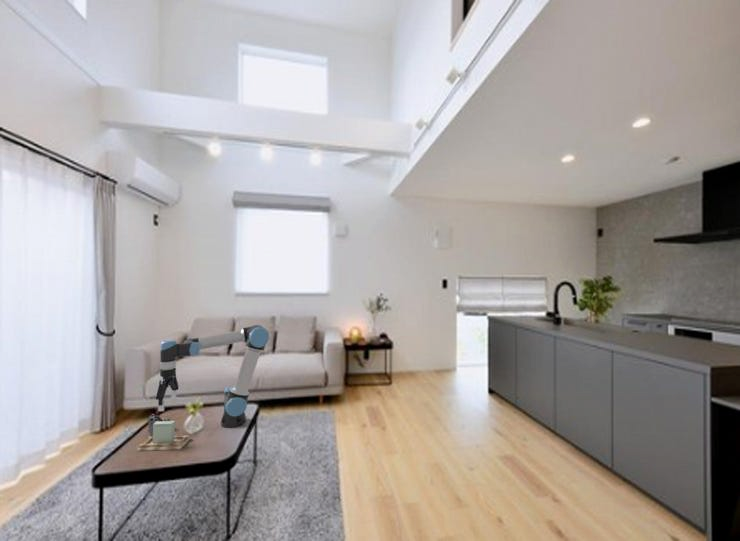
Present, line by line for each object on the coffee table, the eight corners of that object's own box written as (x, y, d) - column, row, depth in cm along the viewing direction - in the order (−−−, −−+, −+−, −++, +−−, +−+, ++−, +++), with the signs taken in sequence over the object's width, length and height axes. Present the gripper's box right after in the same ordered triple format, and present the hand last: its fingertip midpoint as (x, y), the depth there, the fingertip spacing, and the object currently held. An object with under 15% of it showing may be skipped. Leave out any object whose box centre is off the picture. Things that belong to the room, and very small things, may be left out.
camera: (172, 433, 197) (173, 416, 198) (151, 439, 190) (151, 421, 190) (166, 425, 208) (167, 409, 208) (146, 431, 200) (146, 414, 201)
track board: (190, 438, 191) (190, 434, 191) (180, 449, 179) (180, 444, 179) (150, 440, 189) (150, 435, 189) (137, 450, 177) (137, 446, 177)
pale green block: (174, 440, 186) (175, 420, 186) (171, 443, 182) (171, 423, 183) (156, 441, 185) (156, 421, 185) (152, 444, 181) (153, 424, 182)
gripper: (172, 363, 198) (171, 398, 197) (148, 374, 173) (147, 415, 173) (185, 362, 199) (184, 398, 198) (163, 374, 174) (163, 414, 173)
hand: (167, 406), depth 185 cm, fingers open, 13 cm apart
